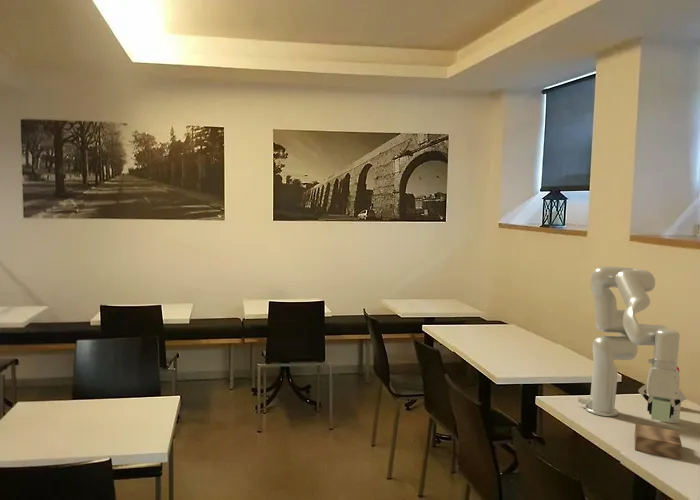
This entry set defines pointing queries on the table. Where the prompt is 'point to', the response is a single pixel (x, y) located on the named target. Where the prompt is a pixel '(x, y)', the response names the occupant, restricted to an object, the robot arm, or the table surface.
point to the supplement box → (675, 413)
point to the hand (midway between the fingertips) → (659, 414)
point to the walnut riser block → (657, 441)
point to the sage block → (660, 409)
